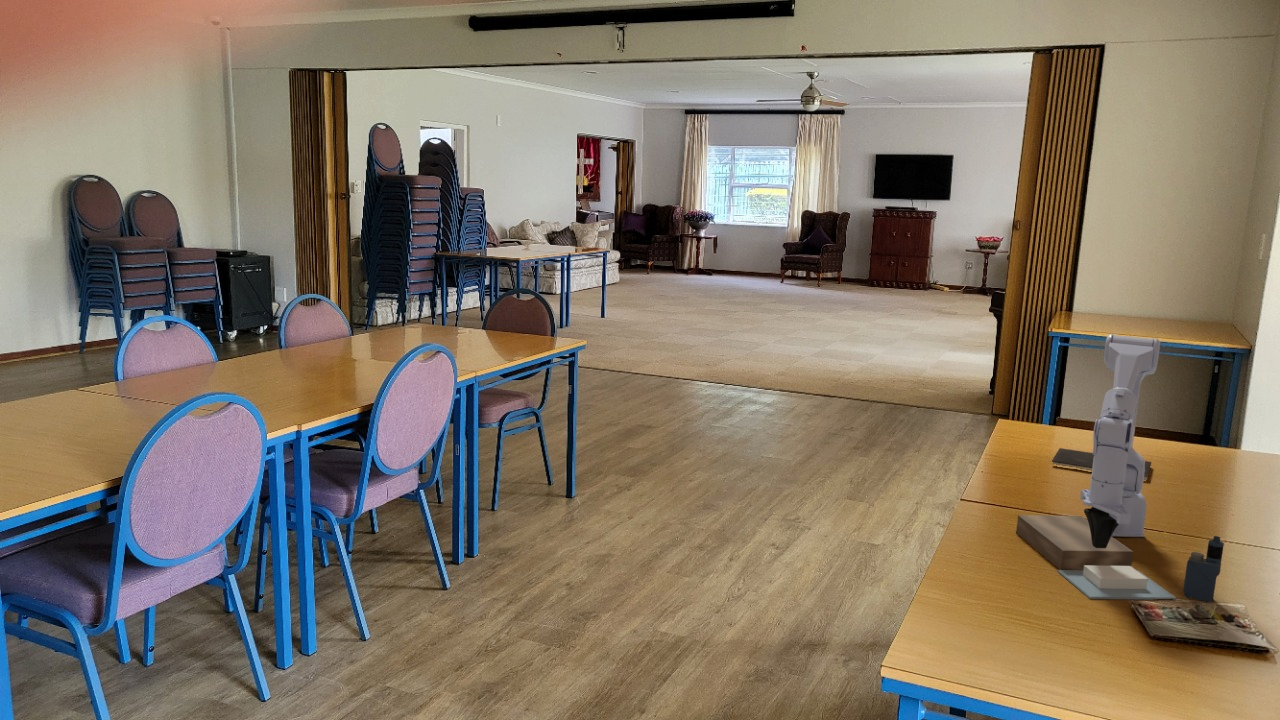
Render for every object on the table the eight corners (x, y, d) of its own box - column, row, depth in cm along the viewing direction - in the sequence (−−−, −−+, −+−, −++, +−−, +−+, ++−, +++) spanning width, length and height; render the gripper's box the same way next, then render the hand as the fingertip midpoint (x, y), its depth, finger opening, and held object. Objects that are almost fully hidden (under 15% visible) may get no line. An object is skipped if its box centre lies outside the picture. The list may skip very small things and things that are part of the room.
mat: (1138, 573, 183) (1138, 571, 182) (1175, 599, 171) (1176, 597, 171) (1058, 572, 182) (1058, 570, 182) (1089, 598, 170) (1089, 596, 170)
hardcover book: (1146, 484, 242) (1148, 475, 242) (1050, 468, 254) (1051, 460, 253) (1150, 469, 256) (1151, 461, 255) (1059, 455, 267) (1059, 447, 267)
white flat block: (1147, 578, 174) (1146, 588, 174) (1130, 565, 180) (1128, 575, 180) (1100, 578, 173) (1099, 588, 174) (1084, 565, 179) (1082, 575, 180)
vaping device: (1215, 603, 170) (1225, 540, 167) (1182, 596, 172) (1191, 534, 170) (1215, 598, 172) (1225, 536, 170) (1182, 591, 174) (1191, 530, 172)
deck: (1079, 533, 203) (1081, 516, 202) (1130, 570, 183) (1133, 551, 183) (1016, 532, 202) (1018, 515, 202) (1060, 570, 183) (1062, 550, 182)
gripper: (1068, 467, 187) (1061, 533, 189) (1107, 491, 172) (1098, 561, 175) (1103, 468, 187) (1095, 533, 189) (1144, 491, 173) (1135, 561, 175)
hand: (1099, 546), depth 182 cm, fingers closed
